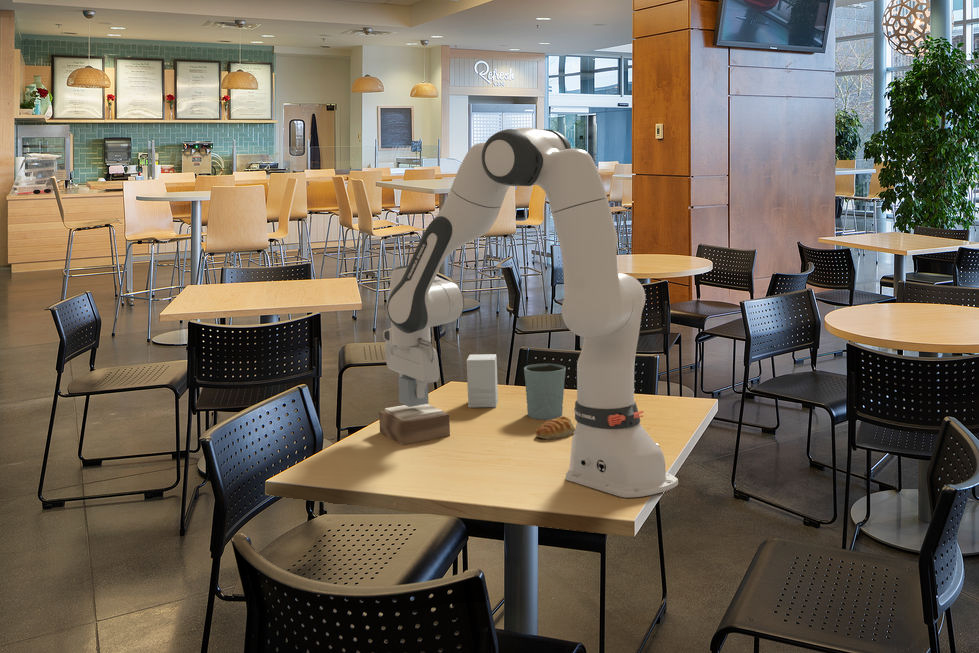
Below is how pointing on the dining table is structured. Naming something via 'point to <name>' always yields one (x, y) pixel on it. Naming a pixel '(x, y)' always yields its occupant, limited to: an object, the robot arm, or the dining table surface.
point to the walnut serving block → (414, 423)
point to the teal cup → (544, 390)
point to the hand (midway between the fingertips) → (413, 395)
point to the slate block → (410, 392)
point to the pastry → (555, 428)
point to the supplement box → (482, 380)
